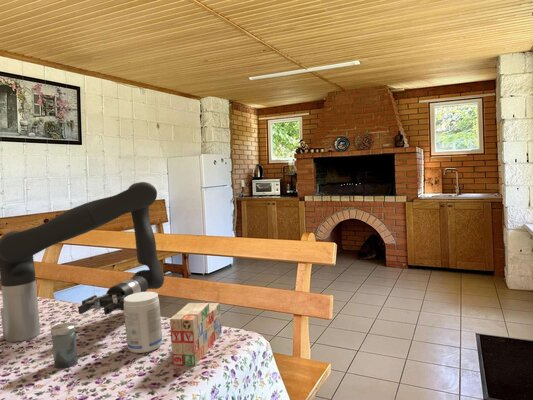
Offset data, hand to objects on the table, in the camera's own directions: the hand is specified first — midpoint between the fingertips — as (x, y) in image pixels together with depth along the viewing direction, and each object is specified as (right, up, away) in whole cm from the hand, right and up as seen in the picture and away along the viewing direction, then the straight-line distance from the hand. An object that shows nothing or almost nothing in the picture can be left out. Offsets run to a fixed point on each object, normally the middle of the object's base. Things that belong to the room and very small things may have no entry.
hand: (92, 311), depth 114 cm
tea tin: (-2, -11, -10) cm, 15 cm away
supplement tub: (+16, -10, -2) cm, 19 cm away
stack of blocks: (+32, -9, -4) cm, 33 cm away
